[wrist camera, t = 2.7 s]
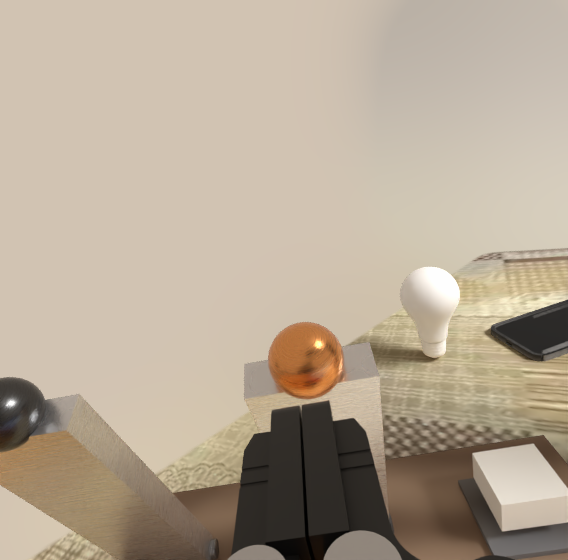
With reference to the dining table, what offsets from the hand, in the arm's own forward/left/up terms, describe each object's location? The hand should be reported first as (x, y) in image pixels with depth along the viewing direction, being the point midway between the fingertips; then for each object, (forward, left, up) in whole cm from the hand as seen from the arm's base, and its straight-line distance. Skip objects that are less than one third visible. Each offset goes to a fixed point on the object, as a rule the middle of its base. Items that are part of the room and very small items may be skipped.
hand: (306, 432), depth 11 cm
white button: (-15, +3, -19) cm, 24 cm away
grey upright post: (-2, -16, -18) cm, 24 cm away
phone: (-44, +4, -22) cm, 49 cm away
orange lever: (-9, -6, -18) cm, 21 cm away
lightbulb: (-34, -8, -21) cm, 41 cm away
